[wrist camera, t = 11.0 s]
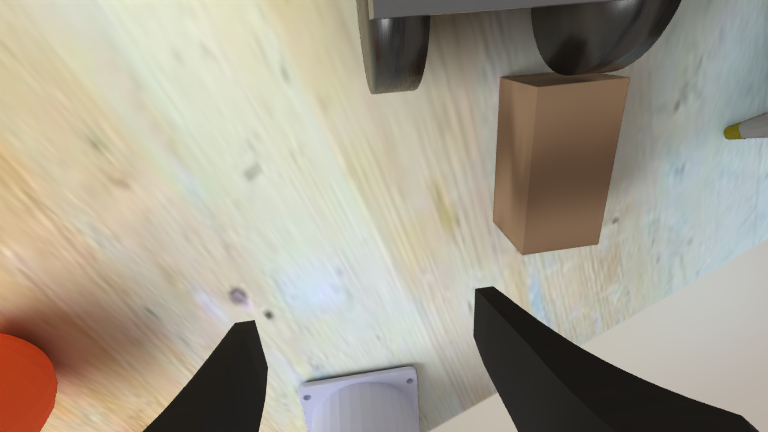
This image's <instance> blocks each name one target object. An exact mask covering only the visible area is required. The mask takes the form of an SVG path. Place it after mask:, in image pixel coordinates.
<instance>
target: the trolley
mask: <svg viewBox="0 0 768 432" xmlns="http://www.w3.org/2000/svg"><path fill="white" fill-rule="evenodd" d="M356 2H357V13H358V22H359V31H360V39H361V47H362V54H363V61H364V67H365V73H366V78H367V82H368V86H369V90H370V92H371V94H383V93H393V92H404V91H414V90H416V89H417V88H418V86H419V84H420V82H421V79H422V76H423V72H424V68H425V63H426V57H427V50H428V41H429V30H430V15H442V14H455V13H468V12H481V11H494V10H507V9H520V8H531V16H532V26H533V32H534V37H535V41H536V44H537V47H538V50H539V52H540V55H541V56H542V58H543V60H544V61H545V63H546V64H547V65H548V67H550V68H551V69H552V70H553V71H554V72H556V73H558V74H561V75H564V76H574V75H585V74H595V73H606V72H612V71H617V70H620V69H622V68H625V67H626V66H628V65H630V64H632V63H633V62H635V61H636V60H637V59H639V58H640V57H641V56H642V55H643V54H644V53H645V52H647V51H648V50H649V49H650V48H651V47H652V45H653V44H654V43H655V42H656V41H657V39H658V38H659V37H660V36H661V34H662V33H663V31H664V30H665V29H666V27H667V26H668V24H669V23H670V21H671V19H672V17H673V16H674V14H675V12H676V10H677V9H678V7H679V4H680V2H681V0H356Z"/></svg>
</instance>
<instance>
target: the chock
mask: <svg viewBox="0 0 768 432" xmlns="http://www.w3.org/2000/svg"><path fill="white" fill-rule="evenodd" d="M629 79H630V78H629V77H622V76H615V75H608V74H601V73H595V74H585V75H574V76H564V75H561V74H558V73H556V72H551V73H541V74H531V75H521V76H512V77H502V78H500V90H499V110H498V130H497V150H496V170H495V190H494V210H493V222H494V223H495V224H496V226H497V227H498V228H499V229H500V230H501V231H502V232H503V234H504V235H505V236H506V237H507V238H508V239H509V240H510V241H511V243H512V244H513V245H514V246H515V247H516V248H517V249H518V251H519V252H520V253H521V254H522V255H526V254H533V253H540V252H547V251H555V250H562V249H569V248H576V247H583V246H590V245H597V244H598V243H599V238H600V232H601V227H602V222H603V217H604V211H605V206H606V201H607V195H608V190H609V185H610V180H611V174H612V169H613V164H614V158H615V153H616V148H617V143H618V137H619V132H620V127H621V121H622V116H623V111H624V106H625V100H626V95H627V90H628V84H629Z"/></svg>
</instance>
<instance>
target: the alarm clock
mask: <svg viewBox="0 0 768 432" xmlns="http://www.w3.org/2000/svg"><path fill="white" fill-rule="evenodd" d="M724 136H725V138H726V139H746V138H765V137H768V113H765V114H762V115H759V116H757V117H754V118H751V119H748V120H746V121H743V122H740V123H737V124H735V125H732V126H730V127H727V128H725V130H724Z"/></svg>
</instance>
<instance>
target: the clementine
mask: <svg viewBox="0 0 768 432" xmlns="http://www.w3.org/2000/svg"><path fill="white" fill-rule="evenodd" d="M57 384H58V382H57V378H56V375H55V372H54V368H53V365H52V362H51V361H50V359H49V358H48V357H47V355H46V354H45V353H44V352H42V351H41V350H40V349H39V348H38V347H36V346H35V345H33V344H31V343H29V342H28V341H26V340H23V339H20V338H17V337H15V336H11V335H6V334H0V432H40V431H41V429H42V428H43V426H44V424H45V423H46V421H47V419H48V417H49V415H50V413H51V412H52V410H53V408H54V404H55V398H56V393H57Z"/></svg>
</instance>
